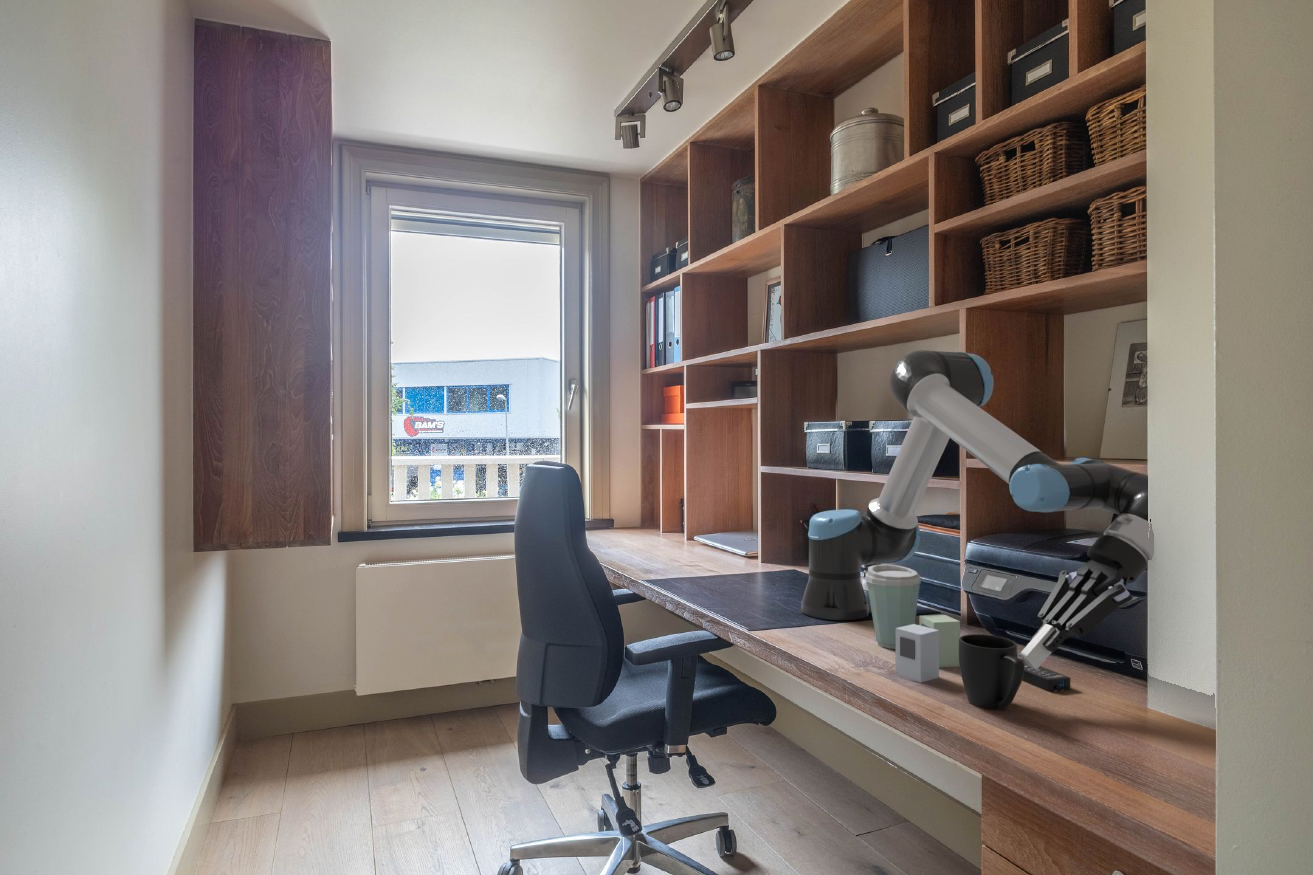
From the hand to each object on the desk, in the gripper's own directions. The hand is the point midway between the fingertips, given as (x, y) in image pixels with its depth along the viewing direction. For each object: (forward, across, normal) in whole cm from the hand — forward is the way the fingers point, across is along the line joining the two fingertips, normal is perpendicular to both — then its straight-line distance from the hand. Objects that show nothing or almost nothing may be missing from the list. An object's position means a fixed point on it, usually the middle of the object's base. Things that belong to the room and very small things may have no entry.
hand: (1027, 662), depth 111 cm
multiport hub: (-1, -10, +11) cm, 15 cm away
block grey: (+11, -16, -2) cm, 19 cm away
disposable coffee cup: (+8, -33, +1) cm, 34 cm away
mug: (+9, 0, +1) cm, 9 cm away
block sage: (+6, -22, +3) cm, 23 cm away
